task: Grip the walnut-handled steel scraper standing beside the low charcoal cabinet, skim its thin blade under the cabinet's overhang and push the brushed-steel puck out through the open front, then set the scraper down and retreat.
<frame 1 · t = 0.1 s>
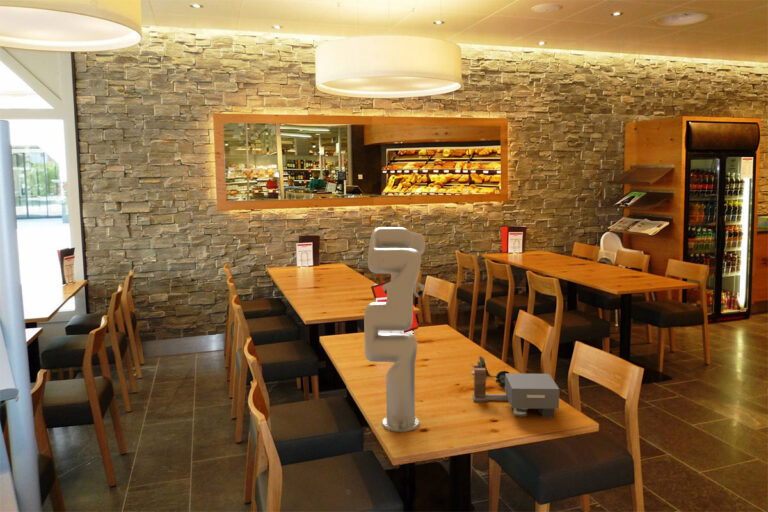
hand: (403, 306, 242), 31 cm above the table, tool pointing down, fingers open, 9 cm apart
artificial flower: (488, 379, 247), on the table
charcoal cabinet: (530, 410, 212), on the table
steel puck: (520, 414, 210), on the table
scraper: (479, 399, 223), on the table
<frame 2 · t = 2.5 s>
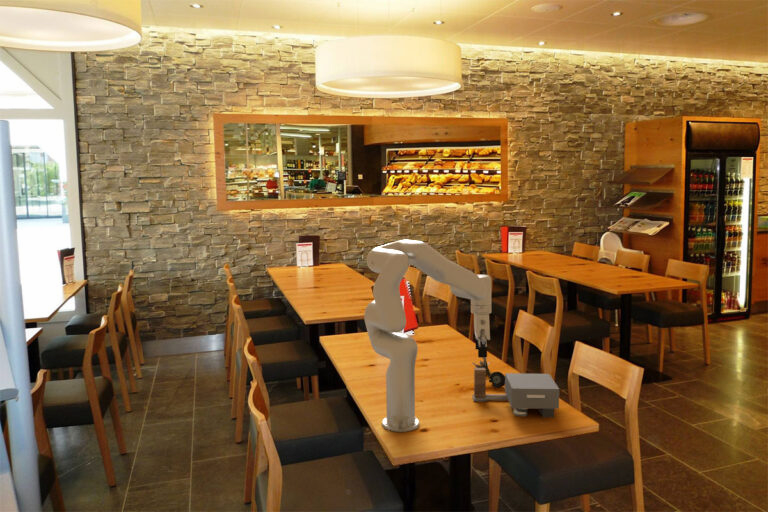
hand: (481, 353, 221), 18 cm above the table, tool pointing down, fingers open, 9 cm apart
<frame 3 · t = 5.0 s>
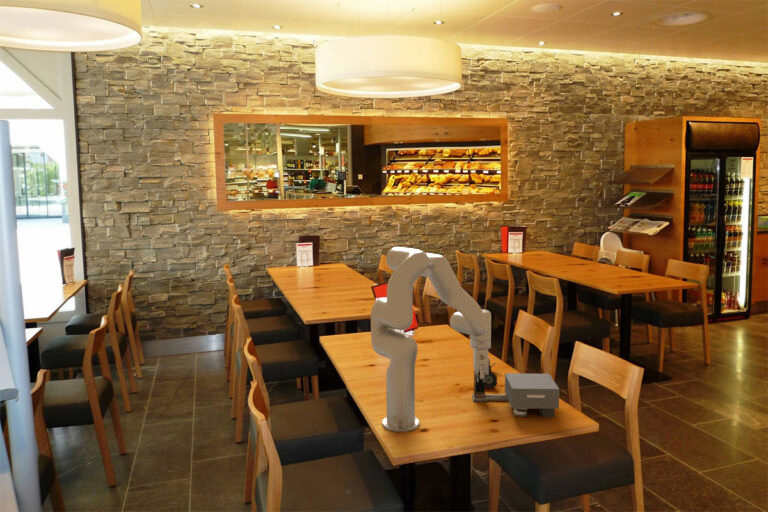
hand: (479, 390, 223), 4 cm above the table, tool pointing down, fingers closed on scraper, 2 cm apart
scraper: (479, 399, 223), on the table, touching gripper
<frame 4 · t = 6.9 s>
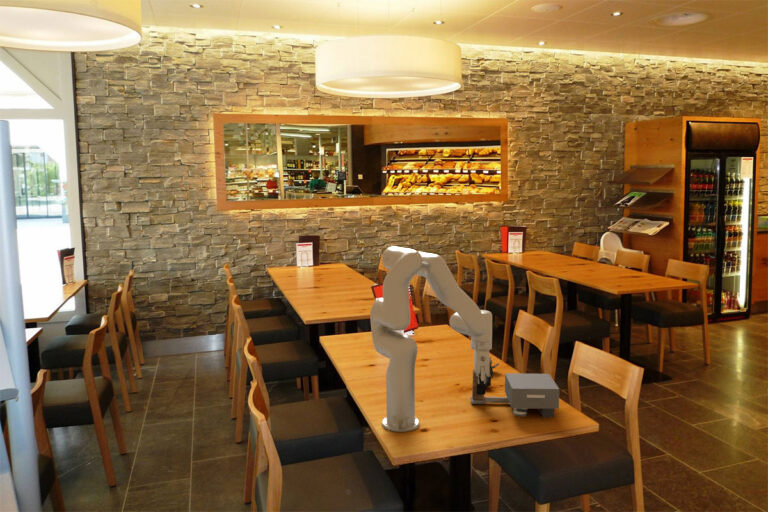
hand: (480, 392, 219), 4 cm above the table, tool pointing down, fingers closed on scraper, 2 cm apart
scraper: (477, 402, 220), on the table, touching gripper
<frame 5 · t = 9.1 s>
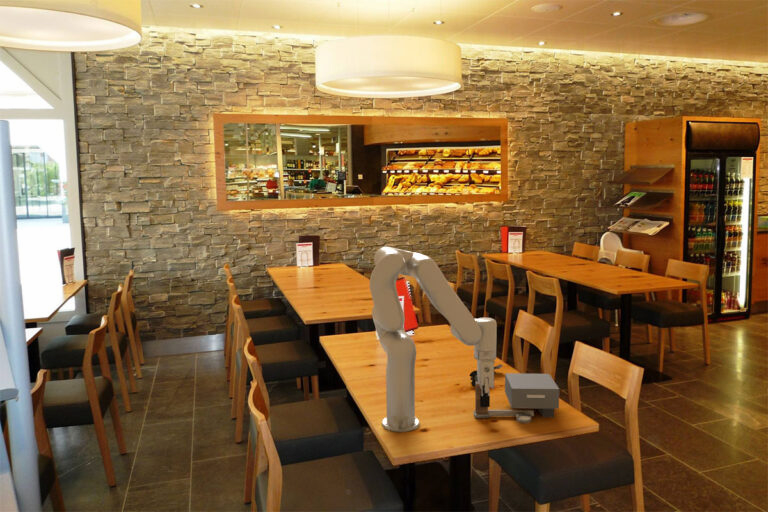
hand: (484, 404, 207), 4 cm above the table, tool pointing down, fingers closed on scraper, 2 cm apart
steel puck: (523, 420, 204), on the table
scraper: (481, 415, 207), on the table, touching gripper
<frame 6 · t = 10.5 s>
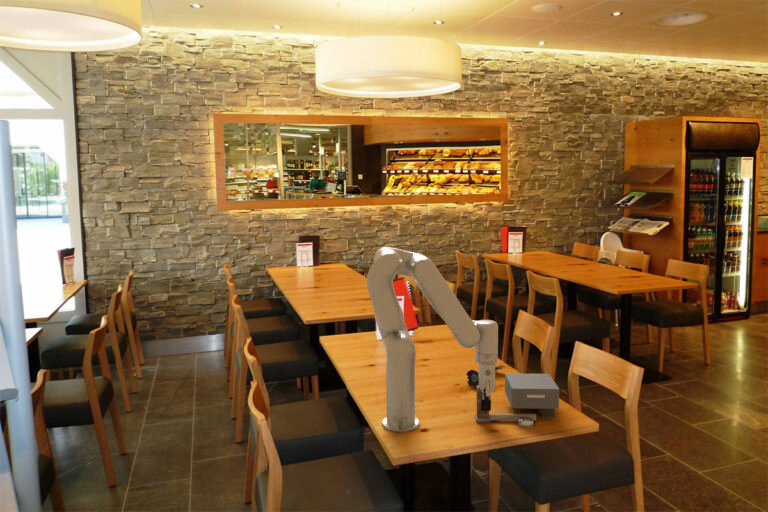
hand: (485, 408, 203), 4 cm above the table, tool pointing down, fingers closed on scraper, 2 cm apart
steel puck: (525, 425, 200), on the table
scraper: (482, 420, 204), on the table, touching gripper
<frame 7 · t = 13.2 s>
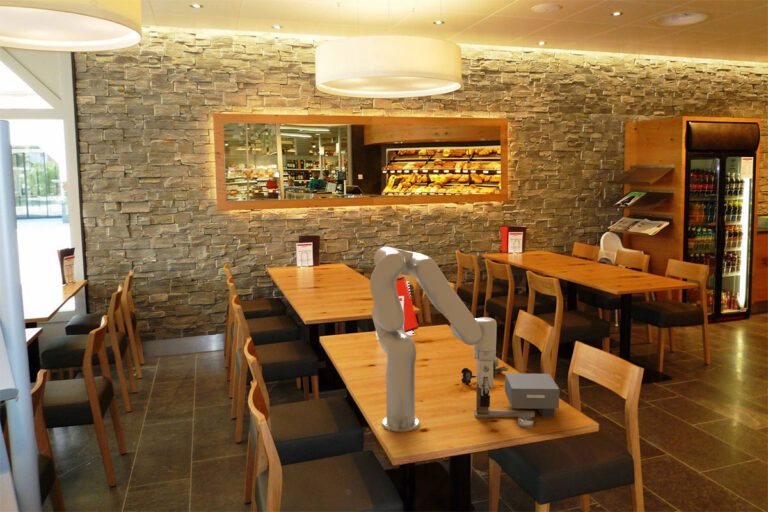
hand: (483, 401, 207), 5 cm above the table, tool pointing down, fingers open, 9 cm apart
scraper: (482, 415, 208), on the table
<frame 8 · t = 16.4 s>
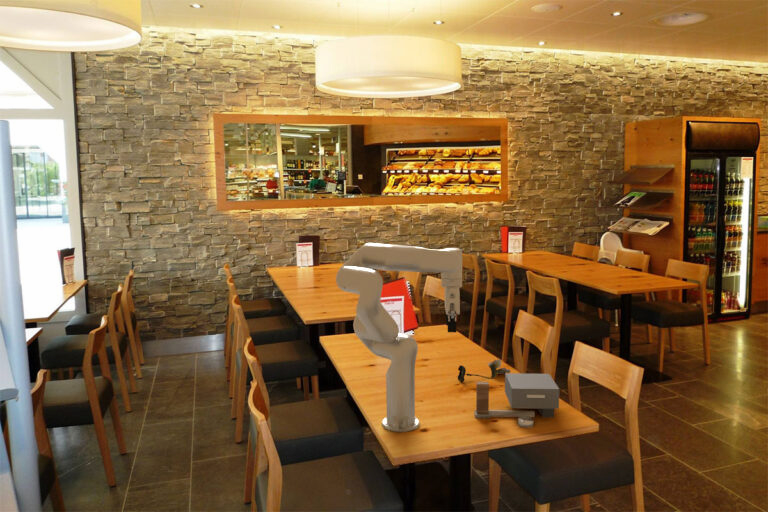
hand: (451, 328, 216), 28 cm above the table, tool pointing down, fingers open, 9 cm apart
at the end: steel puck inside the target area (2.7 cm from its centre), on the table; steel puck tilted 0°; the gripper is holding nothing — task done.
